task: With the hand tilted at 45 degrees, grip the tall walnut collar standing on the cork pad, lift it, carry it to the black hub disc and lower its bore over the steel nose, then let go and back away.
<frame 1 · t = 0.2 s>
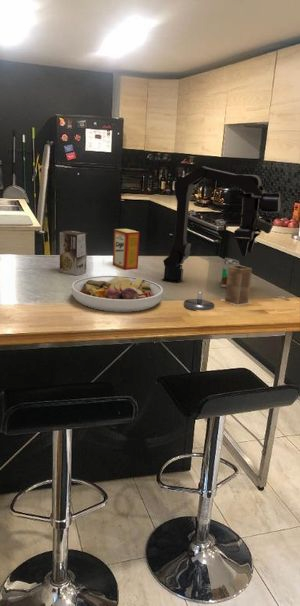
hand: (246, 254, 181), 14 cm above the kitchen island, tool pointing down, fingers open, 9 cm apart
cork pad: (236, 302, 171), on the kitchen island
baking soda box: (125, 267, 213), on the kitchen island
collar: (236, 301, 170), resting on cork pad
bowl: (116, 301, 165), on the kitchen island
hub: (198, 306, 163), on the kitchen island
coffee box: (72, 272, 197), on the kitchen island
food container: (229, 286, 192), on the kitchen island
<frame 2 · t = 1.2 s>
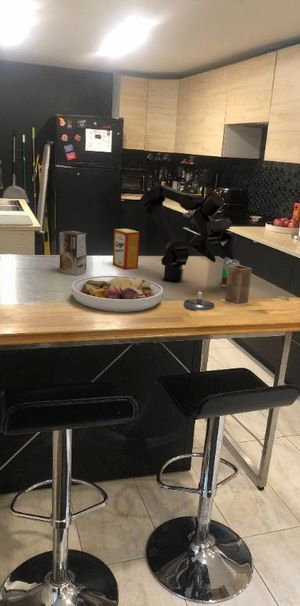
hand: (224, 260, 172), 13 cm above the kitchen island, tool tilted 45°, fingers open, 9 cm apart
nothing on the kitchen island moved.
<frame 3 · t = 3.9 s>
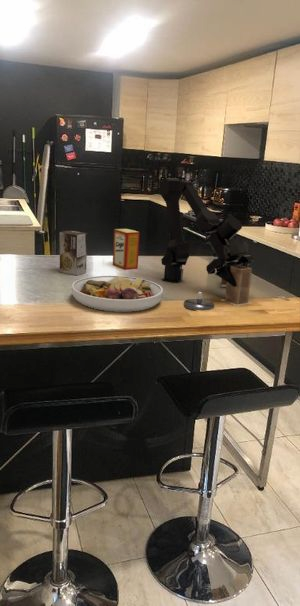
hand: (241, 285, 168), 7 cm above the kitchen island, tool tilted 45°, fingers closed on collar, 6 cm apart
collar: (236, 301, 170), resting on cork pad, touching gripper
everything else where it was.
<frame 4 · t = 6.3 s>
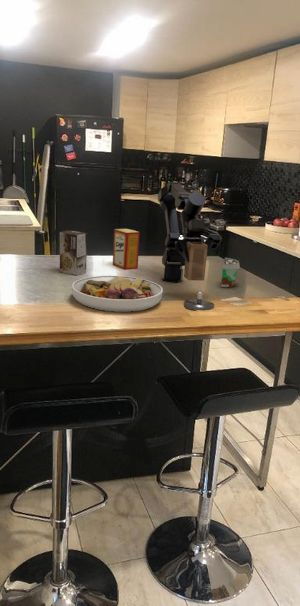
hand: (196, 261, 165), 14 cm above the kitchen island, tool tilted 45°, fingers closed on collar, 6 cm apart
collar: (193, 278, 168), point 8 cm above the kitchen island, touching gripper
everything else where it was.
when the fingers open (9 cm above the kitchen island, at t = 8.7 s): collar drops 1 cm, resting on hub.
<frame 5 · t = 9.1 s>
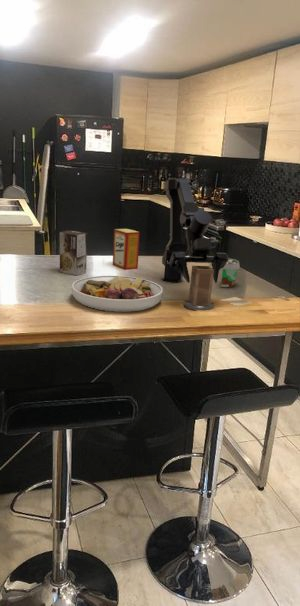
hand: (202, 282, 159), 9 cm above the kitchen island, tool tilted 45°, fingers open, 9 cm apart
collar: (199, 303, 163), point 1 cm above the kitchen island, touching hub
everything else where it was.
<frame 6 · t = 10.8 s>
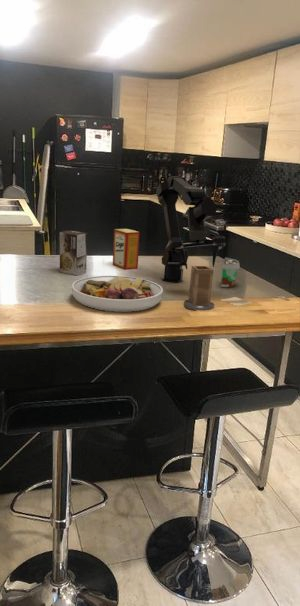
hand: (200, 267, 172), 10 cm above the kitchen island, tool tilted 25°, fingers open, 9 cm apart
nothing on the kitchen island moved.
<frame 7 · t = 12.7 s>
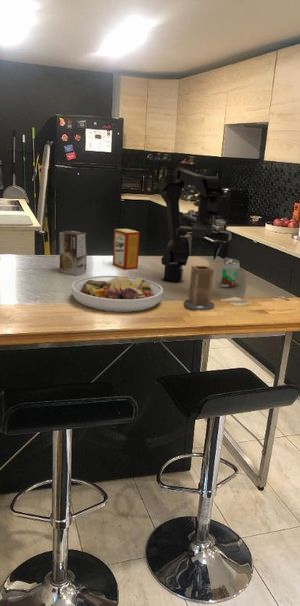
hand: (201, 257, 176), 13 cm above the kitchen island, tool pointing down, fingers open, 9 cm apart
nothing on the kitchen island moved.
at the end: collar 0.0 cm off-centre on the hub, point 1.2 cm above the hub's base; collar tilted 0°; the gripper is holding nothing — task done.
